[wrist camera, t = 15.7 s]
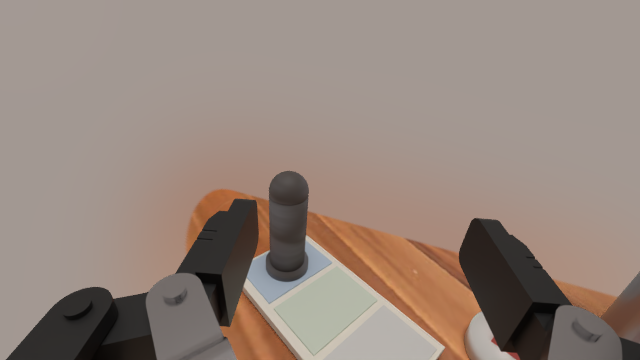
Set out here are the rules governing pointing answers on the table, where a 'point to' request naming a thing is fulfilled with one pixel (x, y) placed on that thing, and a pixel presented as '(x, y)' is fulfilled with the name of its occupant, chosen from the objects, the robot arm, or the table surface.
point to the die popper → (483, 342)
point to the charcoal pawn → (287, 227)
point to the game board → (335, 314)
